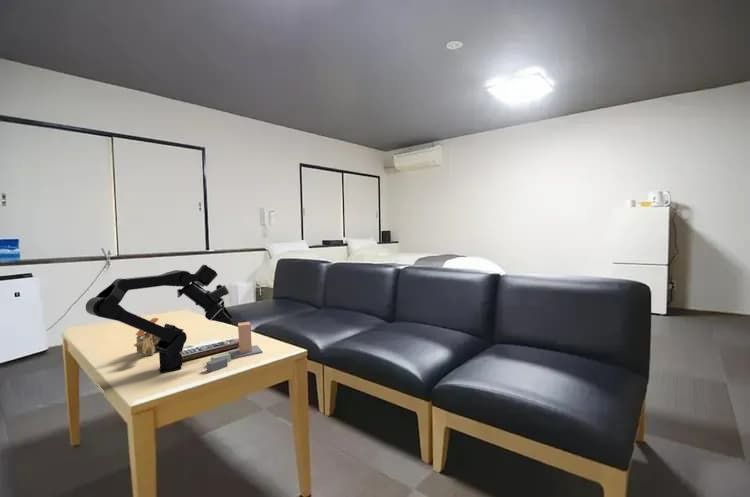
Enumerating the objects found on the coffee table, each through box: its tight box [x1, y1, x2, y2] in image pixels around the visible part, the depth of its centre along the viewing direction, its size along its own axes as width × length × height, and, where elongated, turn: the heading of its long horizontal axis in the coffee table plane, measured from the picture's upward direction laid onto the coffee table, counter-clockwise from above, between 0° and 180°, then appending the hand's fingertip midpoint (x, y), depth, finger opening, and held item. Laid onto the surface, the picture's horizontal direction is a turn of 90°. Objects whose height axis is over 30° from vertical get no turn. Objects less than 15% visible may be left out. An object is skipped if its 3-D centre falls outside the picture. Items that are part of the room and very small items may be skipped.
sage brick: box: [210, 352, 232, 363], centre depth 130 cm, size 6×3×3 cm, turn 138°
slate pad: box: [228, 345, 263, 360], centre depth 141 cm, size 11×9×1 cm
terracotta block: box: [237, 321, 253, 354], centre depth 140 cm, size 4×4×11 cm
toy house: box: [135, 317, 159, 357], centre depth 139 cm, size 8×21×14 cm, turn 19°
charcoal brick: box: [205, 357, 229, 373], centre depth 125 cm, size 6×3×3 cm, turn 142°
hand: (232, 320), depth 138 cm, fingers open, 9 cm apart
